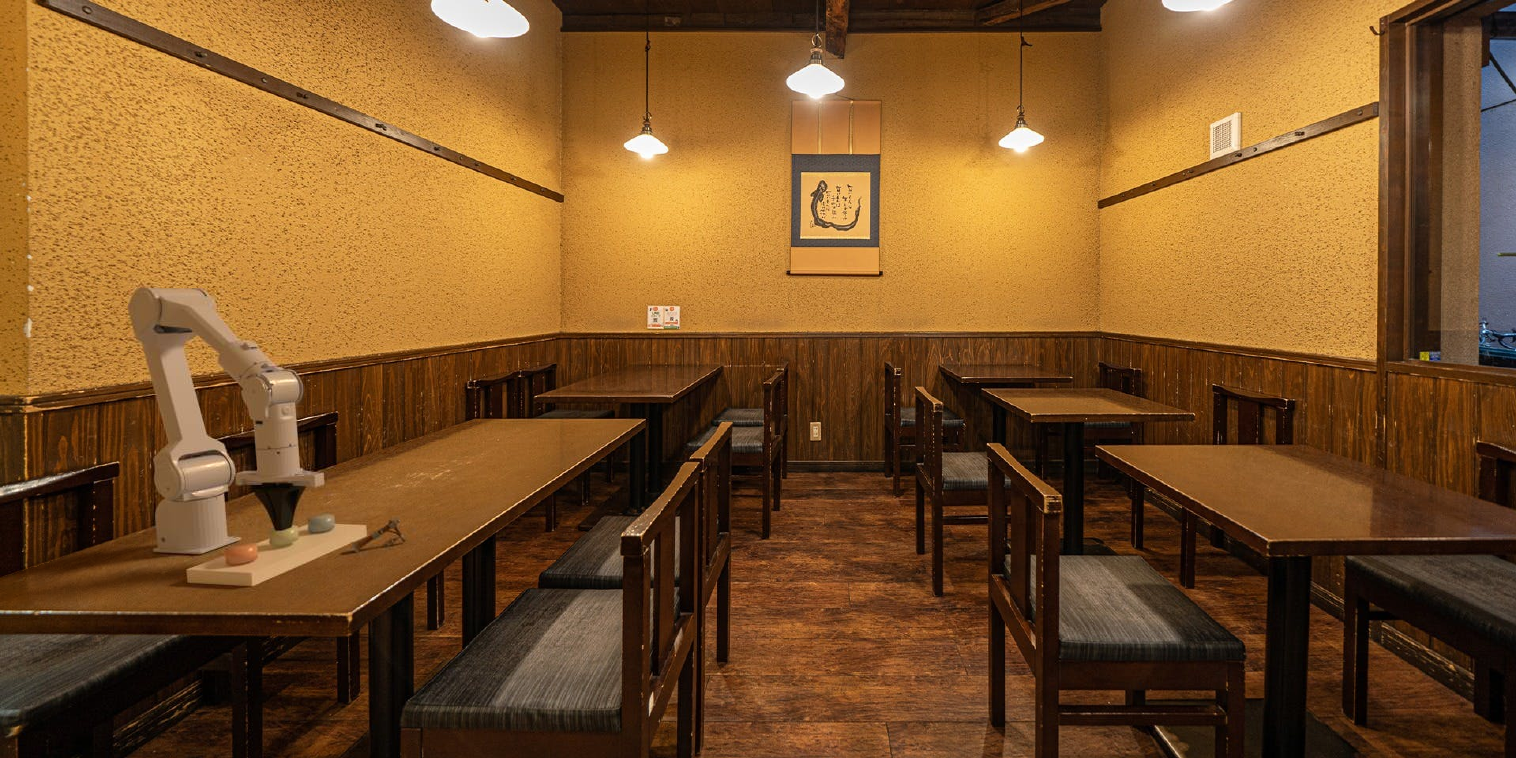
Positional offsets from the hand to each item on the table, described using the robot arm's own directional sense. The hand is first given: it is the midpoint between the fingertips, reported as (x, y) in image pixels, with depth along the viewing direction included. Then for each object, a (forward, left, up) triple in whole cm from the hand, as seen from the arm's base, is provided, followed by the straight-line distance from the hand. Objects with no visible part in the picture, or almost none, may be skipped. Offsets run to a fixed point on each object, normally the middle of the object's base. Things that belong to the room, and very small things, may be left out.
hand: (283, 529), depth 118 cm
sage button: (0, 0, -3) cm, 3 cm away
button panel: (0, 0, -5) cm, 5 cm away
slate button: (0, +8, -3) cm, 9 cm away
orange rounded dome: (0, -8, -3) cm, 9 cm away
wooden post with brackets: (+12, +7, -5) cm, 14 cm away
